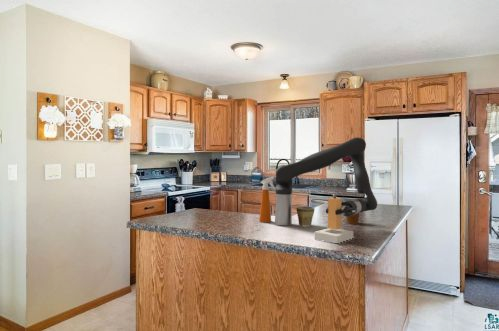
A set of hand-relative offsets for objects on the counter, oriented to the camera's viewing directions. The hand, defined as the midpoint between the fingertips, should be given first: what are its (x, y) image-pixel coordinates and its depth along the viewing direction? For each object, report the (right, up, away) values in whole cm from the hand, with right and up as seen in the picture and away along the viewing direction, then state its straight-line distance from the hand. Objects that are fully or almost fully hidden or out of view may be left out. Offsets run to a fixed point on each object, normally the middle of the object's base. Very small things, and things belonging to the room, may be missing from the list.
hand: (331, 211), depth 160 cm
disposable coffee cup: (+21, -12, +40) cm, 47 cm away
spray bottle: (-27, -12, +43) cm, 52 cm away
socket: (+2, -13, +2) cm, 13 cm away
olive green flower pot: (-7, -12, +33) cm, 36 cm away
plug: (+2, -8, +2) cm, 8 cm away
